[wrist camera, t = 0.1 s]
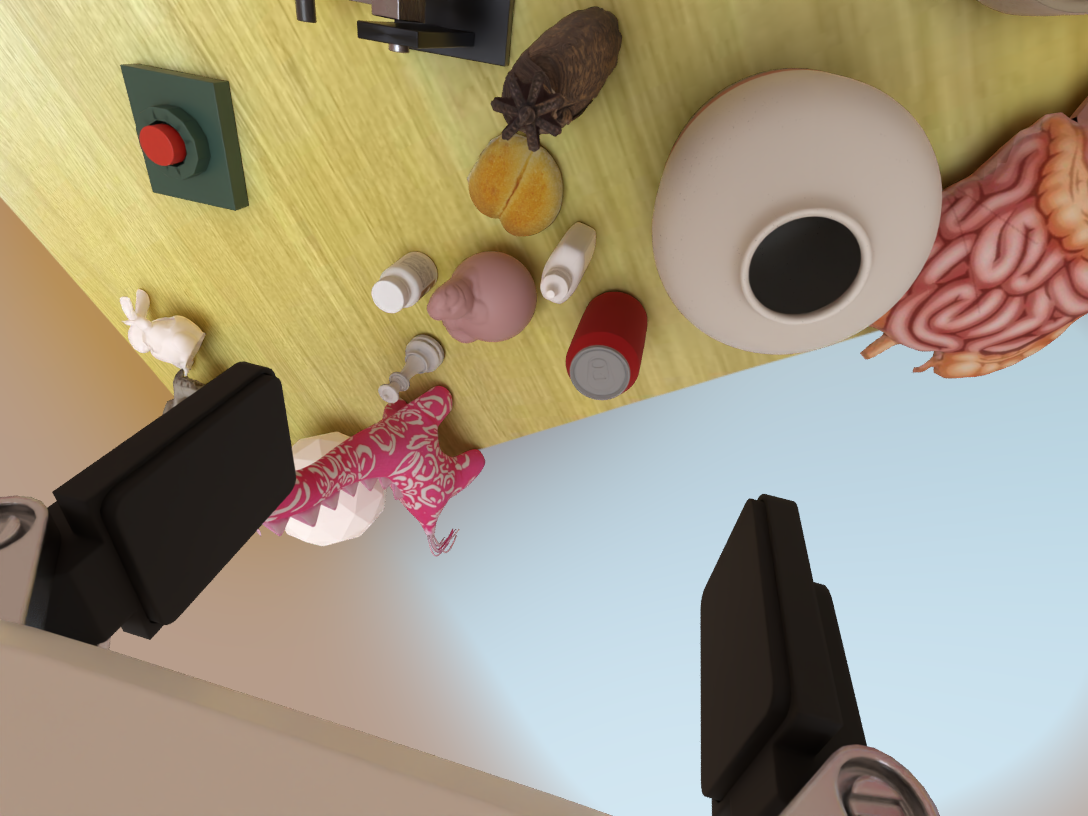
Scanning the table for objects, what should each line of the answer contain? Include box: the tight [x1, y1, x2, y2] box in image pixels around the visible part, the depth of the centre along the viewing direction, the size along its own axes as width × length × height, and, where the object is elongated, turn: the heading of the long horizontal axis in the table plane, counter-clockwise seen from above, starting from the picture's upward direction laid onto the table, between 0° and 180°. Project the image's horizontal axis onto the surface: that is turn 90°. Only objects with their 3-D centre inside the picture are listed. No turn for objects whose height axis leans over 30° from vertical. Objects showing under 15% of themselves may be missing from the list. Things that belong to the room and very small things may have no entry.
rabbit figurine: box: [120, 289, 206, 376], centre depth 70 cm, size 12×8×10 cm
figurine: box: [427, 251, 537, 343], centre depth 55 cm, size 9×11×12 cm
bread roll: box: [467, 134, 563, 236], centre depth 52 cm, size 8×9×4 cm
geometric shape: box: [285, 432, 387, 546], centre depth 73 cm, size 14×15×15 cm
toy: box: [257, 386, 485, 556], centre depth 60 cm, size 9×26×30 cm, turn 24°
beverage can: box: [566, 292, 647, 400], centre depth 54 cm, size 7×7×12 cm
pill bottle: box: [372, 252, 437, 313], centre depth 58 cm, size 4×4×8 cm
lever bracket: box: [357, 0, 514, 66], centre depth 42 cm, size 10×7×13 cm
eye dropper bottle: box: [540, 222, 596, 304], centre depth 51 cm, size 4×6×12 cm
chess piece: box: [378, 335, 444, 403], centre depth 62 cm, size 4×4×10 cm
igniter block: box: [120, 64, 249, 211], centre depth 57 cm, size 12×10×4 cm
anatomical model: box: [860, 96, 1088, 378], centre depth 43 cm, size 17×7×30 cm
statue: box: [491, 7, 622, 152], centre depth 37 cm, size 9×8×25 cm
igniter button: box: [140, 124, 186, 166], centre depth 55 cm, size 4×4×2 cm
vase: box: [652, 68, 942, 354], centre depth 39 cm, size 17×17×24 cm
